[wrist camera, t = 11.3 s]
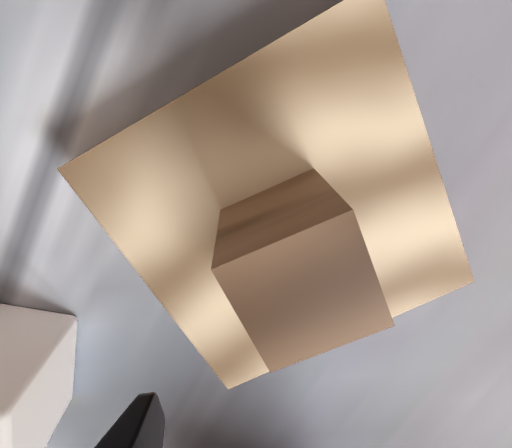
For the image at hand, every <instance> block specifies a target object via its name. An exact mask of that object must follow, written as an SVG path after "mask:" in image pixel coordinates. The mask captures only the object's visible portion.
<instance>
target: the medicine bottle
mask: <svg viewBox="0 0 512 448" xmlns="http://www.w3.org/2000/svg"><path fill="white" fill-rule="evenodd" d="M77 323H78V320H77V318H76V317H75V316H73V315H67V314H61V313H55V312H49V311H42V310H36V309H30V308H24V307H18V306H12V305H6V304H0V448H45V447H46V445H47V443H48V441H49V439H50V438H51V436H52V434H53V432H54V430H55V428H56V427H57V425H58V423H59V421H60V419H61V417H62V416H63V414H64V412H65V410H66V408H67V406H68V405H69V403H70V401H71V399H72V396H73V384H74V369H75V353H76V338H77Z"/></svg>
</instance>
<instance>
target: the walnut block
mask: <svg viewBox="0 0 512 448" xmlns="http://www.w3.org/2000/svg"><path fill="white" fill-rule="evenodd" d="M211 271H212V273H213V274H214V276H215V278H216V280H217V281H218V283H219V285H220V286H221V288H222V290H223V292H224V293H225V295H226V297H227V299H228V300H229V302H230V304H231V306H232V307H233V309H234V311H235V312H236V314H237V316H238V318H239V319H240V321H241V323H242V325H243V326H244V328H245V330H246V332H247V333H248V335H249V337H250V339H251V340H252V342H253V344H254V345H255V347H256V349H257V351H258V352H259V354H260V356H261V358H262V359H263V361H264V363H265V365H266V366H267V368H268V370H269V371H270V373H271V372H273V371H276V370H279V369H281V368H284V367H287V366H289V365H292V364H295V363H297V362H300V361H303V360H305V359H308V358H311V357H313V356H316V355H318V354H321V353H324V352H326V351H329V350H332V349H334V348H337V347H340V346H342V345H345V344H348V343H350V342H353V341H356V340H358V339H361V338H364V337H366V336H369V335H372V334H374V333H377V332H380V331H382V330H385V329H387V328H390V327H393V326H395V325H394V322H393V319H392V317H391V314H390V311H389V308H388V305H387V303H386V300H385V297H384V294H383V291H382V289H381V286H380V283H379V280H378V277H377V275H376V272H375V269H374V266H373V263H372V261H371V258H370V255H369V252H368V249H367V247H366V244H365V241H364V238H363V235H362V233H361V230H360V227H359V224H358V221H357V219H356V216H355V213H354V210H353V209H352V208H351V207H350V205H349V204H348V203H347V202H346V201H345V200H344V199H343V198H342V197H341V196H340V195H339V194H338V193H337V192H336V191H335V190H334V189H333V188H332V187H331V186H330V185H329V183H328V182H327V181H326V180H325V179H324V178H323V177H322V176H321V175H320V174H319V173H318V172H317V171H316V170H315V169H314V168H313V169H311V170H309V171H307V172H304V173H302V174H300V175H298V176H295V177H293V178H291V179H289V180H286V181H284V182H282V183H280V184H277V185H275V186H273V187H271V188H268V189H266V190H264V191H262V192H259V193H257V194H255V195H253V196H251V197H248V198H246V199H244V200H242V201H239V202H237V203H235V204H233V205H230V206H228V207H226V208H224V209H221V210H220V216H219V222H218V228H217V235H216V241H215V247H214V253H213V259H212V266H211Z"/></svg>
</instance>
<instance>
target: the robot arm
mask: <svg viewBox="0 0 512 448" xmlns="http://www.w3.org/2000/svg"><path fill="white" fill-rule="evenodd" d="M164 427H165V417H164V413H163V410H162V407H161V404H160V401H159V398H158V396H157V394H156V393H155V392H150V393H143V394H139V395H138V396H137V397H136V398H135V399H134V400H133V402H132V403H131V404H130V405H129V406H128V408H127V409H126V410H125V411H124V412H123V414H122V415H121V416H120V417H119V418H118V420H117V421H116V422H115V423H114V425H113V426H112V427H111V428H110V429H109V431H108V432H107V433H106V434H105V435H104V437H103V438H102V439H101V440H100V441H99V443H98V444H97V445H96V446H95V447H94V448H162V447H163V437H164Z"/></svg>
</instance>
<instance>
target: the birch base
mask: <svg viewBox="0 0 512 448" xmlns="http://www.w3.org/2000/svg"><path fill="white" fill-rule="evenodd" d="M313 168H314V169H315V170H316V171H317V172H318V173H319V174H320V175H321V176H322V177H323V178H324V179H325V180H326V181H327V182H328V183H329V185H330V186H331V187H332V188H333V189H334V190H335V191H336V192H337V193H338V194H339V195H340V196H341V197H342V198H343V199H344V200H345V201H346V202H347V203H348V204H349V205H350V207H351V208H352V209H353V210H354V213H355V216H356V219H357V221H358V224H359V227H360V230H361V233H362V235H363V238H364V241H365V244H366V247H367V249H368V252H369V255H370V258H371V261H372V263H373V266H374V269H375V272H376V275H377V277H378V280H379V283H380V286H381V289H382V291H383V294H384V297H385V300H386V303H387V305H388V308H389V311H390V314H391V317H395V316H397V315H399V314H402V313H404V312H406V311H408V310H411V309H413V308H415V307H417V306H420V305H422V304H424V303H427V302H429V301H431V300H433V299H436V298H438V297H440V296H443V295H445V294H447V293H449V292H452V291H454V290H456V289H459V288H461V287H463V286H465V285H468V284H470V283H472V282H474V279H473V275H472V272H471V269H470V266H469V263H468V260H467V257H466V254H465V250H464V247H463V244H462V241H461V238H460V235H459V232H458V228H457V225H456V222H455V219H454V216H453V213H452V210H451V207H450V203H449V200H448V197H447V194H446V191H445V188H444V185H443V181H442V178H441V175H440V172H439V169H438V166H437V163H436V160H435V156H434V153H433V150H432V147H431V144H430V141H429V138H428V135H427V131H426V128H425V125H424V122H423V119H422V116H421V113H420V109H419V106H418V103H417V100H416V97H415V94H414V91H413V88H412V84H411V81H410V78H409V75H408V72H407V69H406V66H405V62H404V59H403V56H402V53H401V50H400V47H399V44H398V41H397V37H396V34H395V31H394V28H393V25H392V22H391V19H390V16H389V12H388V9H387V6H386V3H385V0H343V1H342V2H340V3H338V4H336V5H335V6H333V7H331V8H330V9H328V10H326V11H325V12H323V13H321V14H319V15H318V16H316V17H314V18H313V19H311V20H309V21H308V22H306V23H304V24H302V25H301V26H299V27H297V28H296V29H294V30H292V31H291V32H289V33H287V34H285V35H284V36H282V37H280V38H279V39H277V40H275V41H274V42H272V43H270V44H268V45H267V46H265V47H263V48H262V49H260V50H258V51H257V52H255V53H253V54H251V55H250V56H248V57H246V58H245V59H243V60H241V61H240V62H238V63H236V64H234V65H233V66H231V67H229V68H228V69H226V70H224V71H223V72H221V73H219V74H217V75H216V76H214V77H212V78H211V79H209V80H207V81H205V82H204V83H202V84H200V85H199V86H197V87H195V88H194V89H192V90H190V91H188V92H187V93H185V94H183V95H182V96H180V97H178V98H177V99H175V100H173V101H171V102H170V103H168V104H166V105H165V106H163V107H161V108H160V109H158V110H156V111H154V112H153V113H151V114H149V115H148V116H146V117H144V118H143V119H141V120H139V121H137V122H136V123H134V124H132V125H131V126H129V127H127V128H126V129H124V130H122V131H120V132H119V133H117V134H115V135H114V136H112V137H110V138H109V139H107V140H105V141H103V142H102V143H100V144H98V145H97V146H95V147H93V148H92V149H90V150H88V151H86V152H85V153H83V154H81V155H80V156H78V157H76V158H75V159H73V160H71V161H69V162H68V163H66V164H64V165H63V166H61V167H59V168H58V171H59V172H60V173H61V174H62V176H63V177H64V178H65V180H66V181H67V182H68V183H69V185H70V186H71V187H72V189H73V190H74V191H75V193H76V194H77V195H78V196H79V198H80V199H81V200H82V202H83V203H84V204H85V205H86V207H87V208H88V209H89V211H90V212H91V213H92V214H93V216H94V217H95V218H96V220H97V221H98V222H99V224H100V225H101V226H102V227H103V229H104V230H105V231H106V233H107V234H108V235H109V236H110V238H111V239H112V240H113V242H114V243H115V244H116V246H117V247H118V248H119V249H120V251H121V252H122V253H123V255H124V256H125V257H126V258H127V260H128V261H129V262H130V264H131V265H132V266H133V267H134V269H135V270H136V271H137V273H138V274H139V275H140V277H141V278H142V279H143V280H144V282H145V283H146V284H147V286H148V287H149V288H150V289H151V291H152V292H153V293H154V295H155V296H156V297H157V299H158V300H159V301H160V302H161V304H162V305H163V306H164V308H165V309H166V310H167V311H168V313H169V314H170V315H171V317H172V318H173V319H174V320H175V322H176V323H177V324H178V326H179V327H180V328H181V330H182V331H183V332H184V333H185V335H186V336H187V337H188V339H189V340H190V341H191V342H192V344H193V345H194V346H195V348H196V349H197V350H198V352H199V353H200V354H201V355H202V357H203V358H204V359H205V361H206V362H207V363H208V364H209V366H210V367H211V368H212V370H213V371H214V372H215V373H216V375H217V376H218V377H219V379H220V380H221V381H222V383H223V384H224V385H225V386H226V388H227V389H230V388H233V387H235V386H237V385H239V384H242V383H244V382H246V381H249V380H251V379H253V378H255V377H258V376H260V375H262V374H265V373H267V372H269V370H268V368H267V366H266V365H265V363H264V361H263V359H262V358H261V356H260V354H259V352H258V351H257V349H256V347H255V345H254V344H253V342H252V340H251V339H250V337H249V335H248V333H247V332H246V330H245V328H244V326H243V325H242V323H241V321H240V319H239V318H238V316H237V314H236V312H235V311H234V309H233V307H232V306H231V304H230V302H229V300H228V299H227V297H226V295H225V293H224V292H223V290H222V288H221V286H220V285H219V283H218V281H217V280H216V278H215V276H214V274H213V273H212V271H211V266H212V259H213V253H214V247H215V241H216V235H217V228H218V222H219V216H220V210H221V209H224V208H226V207H228V206H230V205H233V204H235V203H237V202H239V201H242V200H244V199H246V198H248V197H251V196H253V195H255V194H257V193H259V192H262V191H264V190H266V189H268V188H271V187H273V186H275V185H277V184H280V183H282V182H284V181H286V180H289V179H291V178H293V177H295V176H298V175H300V174H302V173H304V172H307V171H309V170H311V169H313Z"/></svg>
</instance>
